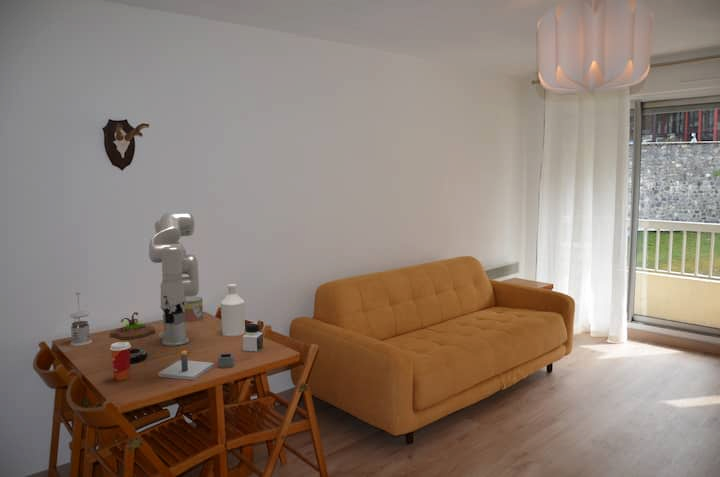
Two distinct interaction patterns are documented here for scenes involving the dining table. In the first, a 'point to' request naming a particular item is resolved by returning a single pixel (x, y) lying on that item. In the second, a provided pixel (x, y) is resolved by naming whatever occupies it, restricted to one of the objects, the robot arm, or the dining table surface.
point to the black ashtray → (137, 355)
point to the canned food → (193, 309)
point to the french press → (80, 328)
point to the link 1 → (176, 318)
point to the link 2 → (225, 360)
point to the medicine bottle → (252, 338)
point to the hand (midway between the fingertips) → (174, 320)
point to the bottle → (233, 313)
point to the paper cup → (121, 360)
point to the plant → (132, 330)
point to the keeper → (186, 369)
